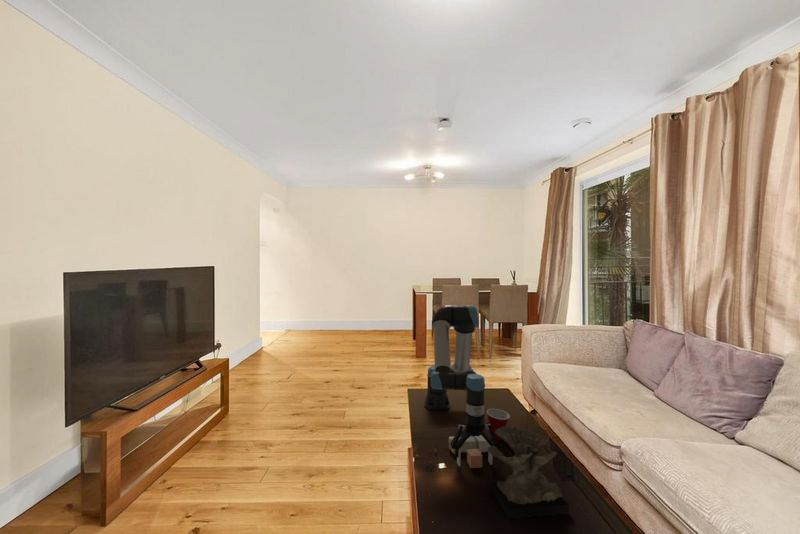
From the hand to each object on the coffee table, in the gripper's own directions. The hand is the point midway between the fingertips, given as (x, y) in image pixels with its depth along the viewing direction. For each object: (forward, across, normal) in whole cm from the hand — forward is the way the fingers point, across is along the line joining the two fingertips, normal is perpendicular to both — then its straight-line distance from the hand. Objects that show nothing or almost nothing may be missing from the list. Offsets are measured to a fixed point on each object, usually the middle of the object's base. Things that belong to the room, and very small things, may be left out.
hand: (474, 463), depth 139 cm
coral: (+1, +11, -20) cm, 23 cm away
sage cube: (0, +1, +11) cm, 11 cm away
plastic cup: (0, +18, +20) cm, 27 cm away
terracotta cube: (0, 0, 0) cm, 0 cm away
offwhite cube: (0, +7, +11) cm, 13 cm away
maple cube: (0, -5, +11) cm, 12 cm away
